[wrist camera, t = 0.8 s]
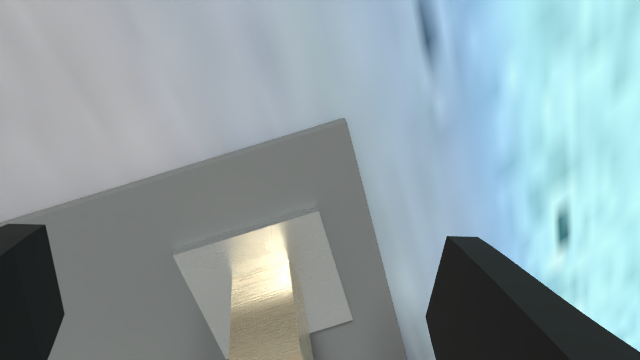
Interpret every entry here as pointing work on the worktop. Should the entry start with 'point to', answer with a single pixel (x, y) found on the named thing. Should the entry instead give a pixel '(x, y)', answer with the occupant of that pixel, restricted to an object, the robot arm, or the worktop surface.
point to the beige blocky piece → (266, 286)
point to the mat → (201, 222)
